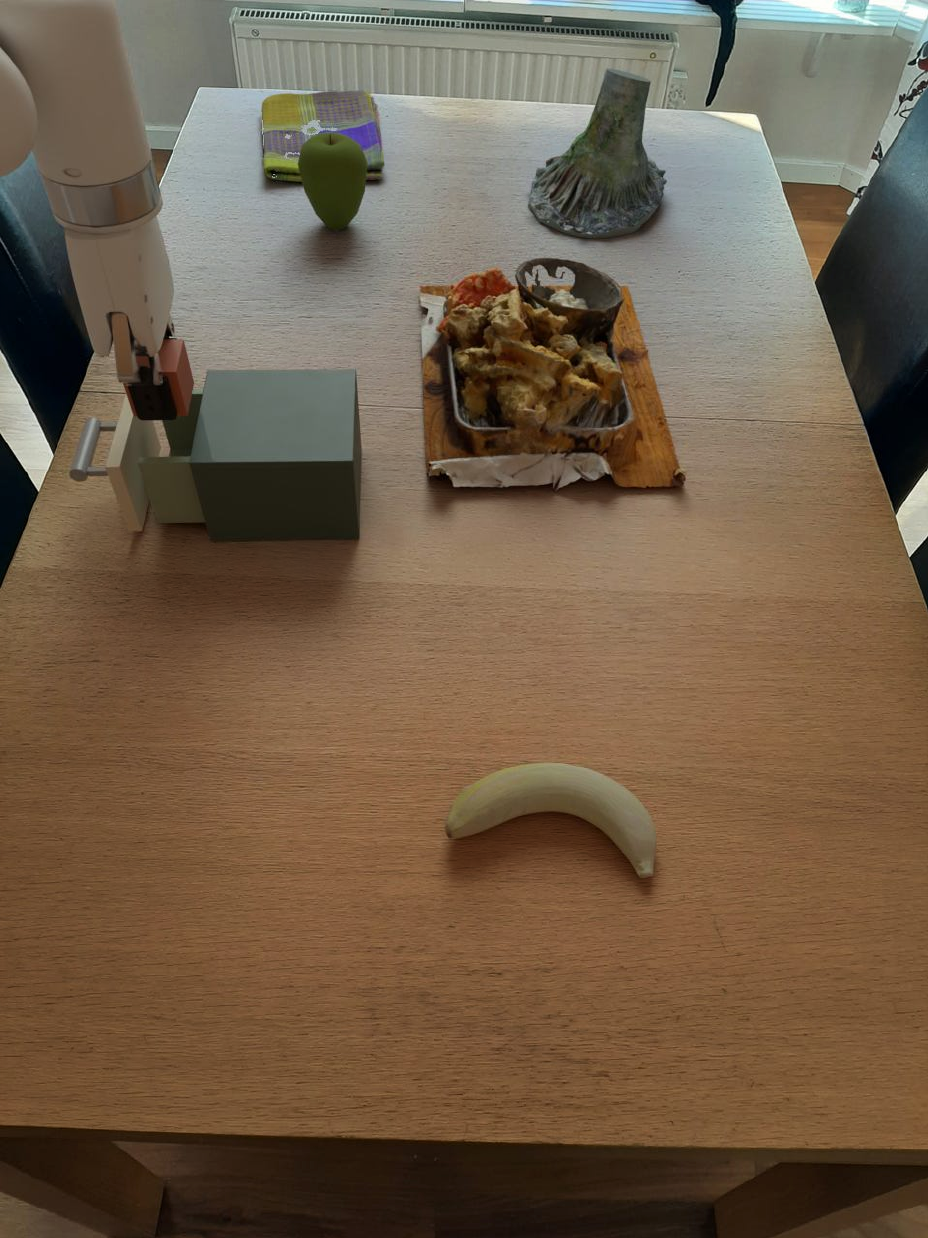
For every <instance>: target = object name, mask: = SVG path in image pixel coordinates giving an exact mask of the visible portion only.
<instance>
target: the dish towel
mask: <svg viewBox="0 0 928 1238" xmlns="http://www.w3.org/2000/svg"><path fill="white" fill-rule="evenodd" d="M378 107H379V106H378V104H377V103H376V102H375V97H374V96H372V95H371V93H370V92H369V91H366V92H365V90H364V89H358V90H357V89H356V90H345V91H338V90H337V91H336V90H331V91H330V90H329V91H318V92H312V93H291V92H290V93H278V94H277V93H276V94H272V95H269V96H267V97H265V99H263V101H262V102H261V112H262V120H263V128H264V130H263V135H264V146H263V138H262V137H261V144H262V148H263V147H264V154H263V153H262V166H263V172H264V174H265V176H267V177H268V176H269V177H268V178H269V179H272V180H278V181H286V182H294V183H295V182H297V183H298V182H299V183H300V182H301V183H302V180H301V176H300V172H299V167H298V162H297V161H298V160H299V156H300V155H298V154H294V155H293V154H288V155H287V158H289V159H286V158H285V157H284V156H285V154H286V152H287V153H288V152H292V153H295V152H296V153H298V152H299V153H300V151H301V147H302V144H304V143H305V142H306V141H307V140H309V139H310V138H311V137H313V136H314V134H313V135H310V136H309V135H307V134H306V135H305V134H304V133H303V132H302V131H301V130H302V129H303V128H302V127H301V126H303V125H308V123H309V122H310V121H312V120H316V121H317V120H320V122H318V123H319V125H320V127H321V128H325V130H323V131H320V132H319V133H318V134H320V133H326V132H334V133H340V134H343V135H346V136H348V137H350V138H352V139H353V140H354V141H356V142H357V143H358V144H360V146H361V148H362V149H363V152H364V154H365V157H366V160H367V162H368V165H367V175H366V181H367V180H369V181H374V180H376V181H377V180H382V179H383V178H382V172H383V169H384V167H385V159H384V155H383V152H382V135H381V132H382V131H381V127H380V117H379V116H380V115H379V109H378ZM319 125H318V126H319ZM260 126H261V128H260V129H261V131H260V132H261V133H260V134H261V135H262V123H261V122H260ZM303 127H304V126H303ZM332 127H333V128H337V130H336V131H331V130H328V129H327V130H326V128H330V129H331V128H332ZM316 131H317V130H316V129H315V128H314V127H311V128H308V129H307V133H311V134H312V133H315V132H316ZM286 134H288V135H290V136H291V135H292V136H291V137H290V139H287V138H285V136H286ZM315 135H316V134H315ZM263 156H264V157H263ZM290 159H292V160H290ZM294 160H295V161H294ZM273 174H275V175H273ZM272 176H273V177H275V178H271V177H272ZM276 176H277V177H276Z"/></svg>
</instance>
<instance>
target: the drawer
mask: <svg viewBox="0 0 928 1238" xmlns="http://www.w3.org/2000/svg"><path fill="white" fill-rule="evenodd" d="M203 390H204V388H193V391H192V396H191V401H190V406H189V411H188V415H187V416H177V417H176V419H175V420H161V422H162V425H163V429H164V433H165V435H166V439H167V443H168V446H169V453H168V454H169V455H168V456H160V455H161V450H162V446H161V442H160V439H159V436H158V432H157V429H156V426H155V423H154V420H147V421H143V420H140V419H138V417H137V416H136V417H134V416H133V413H132V410H131V407H130V403H129V400H128V397H127V394H126V393H125V395H124V398H123V401H122V405H121V409H120V412H119V416H118V419H117V422H102V421H101V420H100V419H99V418H96V417H88V418H86V419H85V421H84V424H83V427H82V430H81V434H80V437H79V439H78V443H77V447H76V450H75V453H74V456H73V459H72V463H71V466H70V470H69V472H68V474H69V477H70V479H72V480H73V481H75V482H78V483H79V482H80V483H82V482H85V481H86V480H88V477H108V479H109V481H110V485H111V486H112V490H113V492H114V495H115V498H116V500H117V503H118V506H119V509H120V512H121V514H122V517H123V519H124V521H125V525H126V528H127V530H128V532H143V530H144V529H143V528H144V525H145V520H146V515H147V511H148V507H149V503H150V504H151V508H152V511H153V514H154V517H155V521H156V523H157V524H187V523H188V524H190V523H191V524H192V523H193V524H194V523H197V524H198V523H205V519H204V516H203V512H202V508H201V505H200V501H199V497H198V493H197V490H196V486H195V482H194V479H193V475H192V471H191V468H190V464H189V462H190V457H191V451H192V446H193V441H194V436H195V431H196V426H197V421H198V416H199V411H200V406H201V400H202V395H203ZM102 432H103V433H104V432H105V433H106V432H114V434H113V437H112V441H111V444H110V449H109V451H108V455H107V459H106V463H105V466H92V464H93V460H94V456H95V453H96V450H97V446H98V442H99V440H100V437H101V433H102Z"/></svg>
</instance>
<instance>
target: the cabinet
mask: <svg viewBox="0 0 928 1238" xmlns="http://www.w3.org/2000/svg"><path fill="white" fill-rule="evenodd" d="M203 389H204V390H203V395H202V400H201V406H200V411H199V416H198V421H197V426H196V431H195V436H194V441H193V446H192V451H191V457H190V462H189V464H190V468H191V471H192V475H193V479H194V482H195V486H196V490H197V493H198V497H199V501H200V505H201V508H202V512H203V516H204V519H205V522H204V523H205V526H206V530H207V534H208V538H209V541H210V542H211V543H212V542H267V541H269V542H271V541H274V542H275V541H327V540H329V541H330V540H331V541H333V540H335V541H336V540H360V538H361V536H360V535H361V497H362V496H361V493H362V491H361V490H362V453H363V452H362V449H363V447H362V446H363V445H362V434H361V432H362V431H361V418H360V406H359V405H360V404H359V392H358V379H357V369H354V368H353V369H352V368H351V369H208V370H206V375H205V381H204V385H203Z"/></svg>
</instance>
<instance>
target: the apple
mask: <svg viewBox="0 0 928 1238" xmlns="http://www.w3.org/2000/svg"><path fill="white" fill-rule="evenodd" d="M367 165H368V162H367V160H366V157H365V154H364V152H363V149H362V148H361V146H360V144H358V143H357V142H356V141H354V140H353V139H352V138H350V137H348V136H346V135H343V134H340V133H334V132H326V133H320V134H316V135H314V136H313V137H311V138H310V139H309V140H307V141H306V142H305V143H304V144H302V147H301V151H300V156H299V160H298V167H299V172H300V176H301V180H302V182H301V185H302V187H303V191H304V194H305V195H306V197H307V199H308V201H309V203H310V205H311V207H312V209H313V211H314V214H315V215H316V216H317V217H318V218H319V220H320V221H321V222H322V223H323V224H324V225H325V226H326V227H327V228H328V229H330V230H331V231H335V232H338V231H342V230H344V229H345V228H347V227H348V226H349V224H350V223H351V222H352V221H353V220H354V218H356V216H357V215H358V214H359V210H360V208H361V204H362V201H363V198H364V195H365V192H366V183H367V180H366V175H367Z"/></svg>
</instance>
